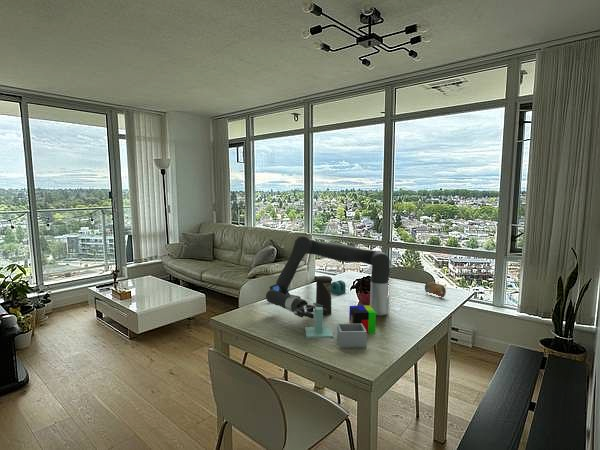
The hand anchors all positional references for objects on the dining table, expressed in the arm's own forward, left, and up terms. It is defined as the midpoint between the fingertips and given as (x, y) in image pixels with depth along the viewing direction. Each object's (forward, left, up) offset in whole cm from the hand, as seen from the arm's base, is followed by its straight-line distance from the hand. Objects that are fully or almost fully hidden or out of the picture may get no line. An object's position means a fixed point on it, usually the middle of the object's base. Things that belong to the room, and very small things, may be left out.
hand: (319, 314), depth 156 cm
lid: (0, -1, -9) cm, 10 cm away
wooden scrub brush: (-79, -56, -10) cm, 97 cm away
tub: (-13, +10, -9) cm, 19 cm away
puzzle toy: (-21, -5, -10) cm, 23 cm away
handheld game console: (+16, -50, -10) cm, 53 cm away
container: (-5, -27, -9) cm, 29 cm away
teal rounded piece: (-15, -68, -10) cm, 70 cm away
